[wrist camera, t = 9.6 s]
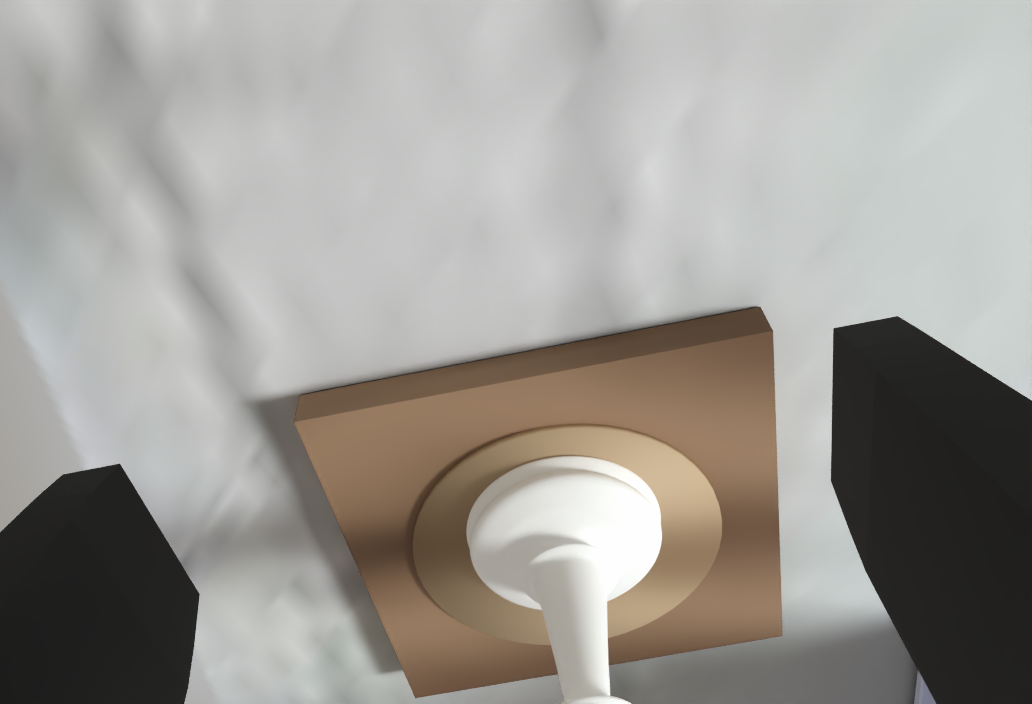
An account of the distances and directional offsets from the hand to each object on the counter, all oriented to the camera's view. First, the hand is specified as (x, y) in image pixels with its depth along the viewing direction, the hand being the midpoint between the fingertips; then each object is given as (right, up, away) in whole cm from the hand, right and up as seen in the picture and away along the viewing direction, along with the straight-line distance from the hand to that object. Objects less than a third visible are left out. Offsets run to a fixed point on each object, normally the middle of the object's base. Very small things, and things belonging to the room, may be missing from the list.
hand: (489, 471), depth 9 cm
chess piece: (+1, -3, +14) cm, 14 cm away
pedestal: (+2, -3, +15) cm, 16 cm away
